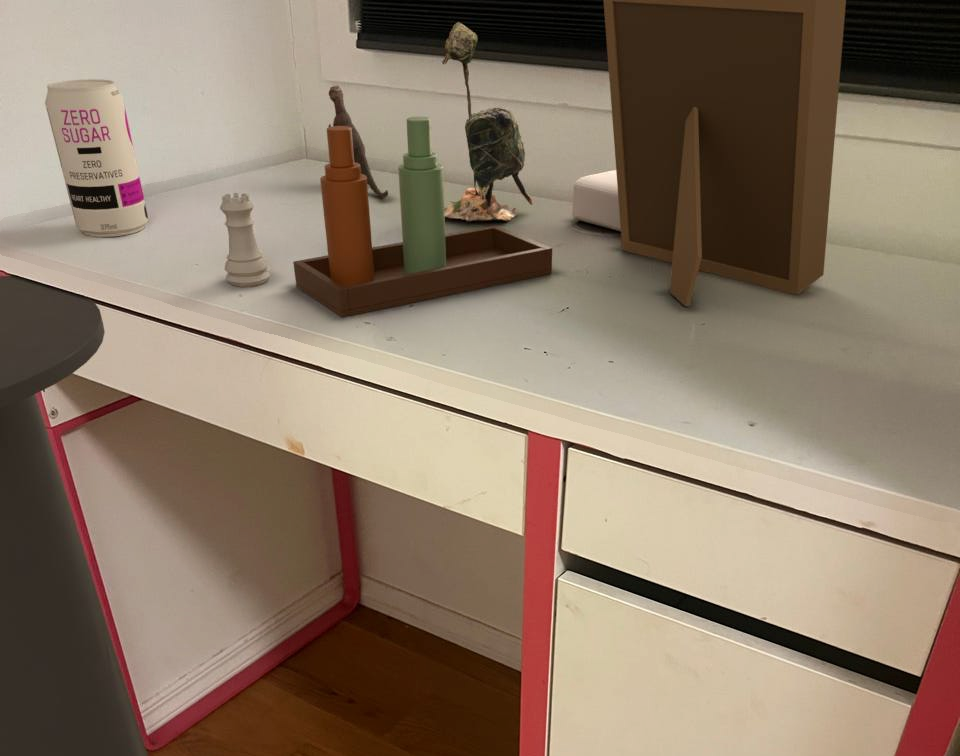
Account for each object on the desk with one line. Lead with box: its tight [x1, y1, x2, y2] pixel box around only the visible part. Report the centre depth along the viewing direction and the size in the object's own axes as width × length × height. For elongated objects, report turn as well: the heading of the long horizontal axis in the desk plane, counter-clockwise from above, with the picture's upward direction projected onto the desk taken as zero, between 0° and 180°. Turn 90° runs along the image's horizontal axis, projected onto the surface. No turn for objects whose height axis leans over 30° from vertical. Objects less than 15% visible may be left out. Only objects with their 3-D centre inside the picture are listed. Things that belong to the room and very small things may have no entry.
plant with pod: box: [441, 21, 534, 222], centre depth 109 cm, size 8×11×20 cm
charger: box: [571, 169, 621, 233], centre depth 109 cm, size 5×9×15 cm
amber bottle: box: [319, 125, 375, 286], centre depth 88 cm, size 4×4×14 cm
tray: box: [292, 225, 553, 318], centre depth 95 cm, size 24×11×2 cm, turn 122°
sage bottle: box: [397, 116, 446, 274], centre depth 92 cm, size 4×4×14 cm
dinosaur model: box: [327, 85, 389, 199], centre depth 123 cm, size 4×12×15 cm
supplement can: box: [44, 78, 149, 238], centre depth 109 cm, size 8×8×15 cm
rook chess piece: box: [219, 192, 271, 288], centre depth 94 cm, size 4×4×8 cm
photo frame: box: [603, 0, 847, 307], centre depth 88 cm, size 15×22×25 cm
